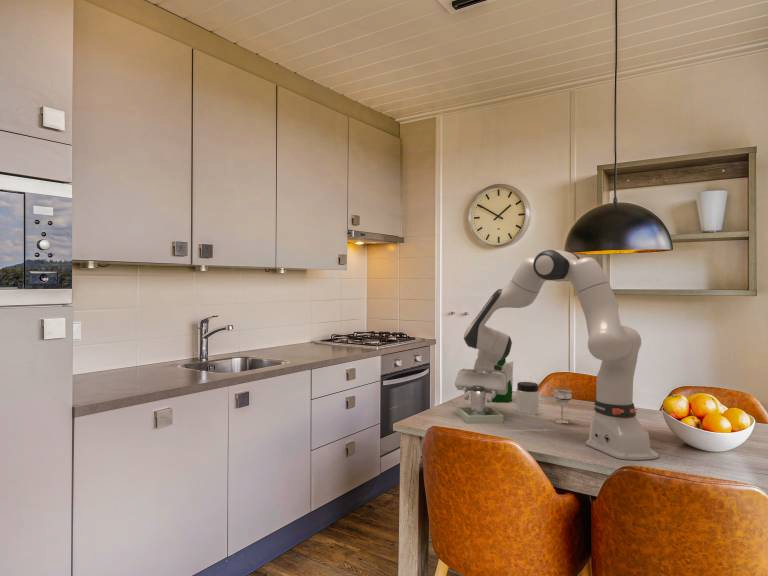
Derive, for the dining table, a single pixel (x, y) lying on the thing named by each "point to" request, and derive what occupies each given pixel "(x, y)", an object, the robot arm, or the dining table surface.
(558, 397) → the wineglass
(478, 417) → the tray
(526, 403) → the jar
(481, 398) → the shaker
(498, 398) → the milk carton
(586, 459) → the dining table surface
